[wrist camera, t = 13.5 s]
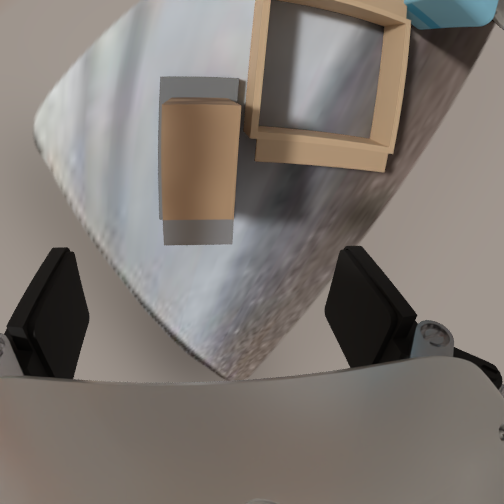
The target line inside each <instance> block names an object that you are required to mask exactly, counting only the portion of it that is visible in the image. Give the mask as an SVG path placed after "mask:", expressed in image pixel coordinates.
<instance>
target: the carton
mask: <svg viewBox="0 0 504 504" xmlns="http://www.w3.org/2000/svg"><path fill="white" fill-rule="evenodd" d="M278 1H284V2H290V3H295V4H301V5H306V6H311V7H315V8H320V9H324V10H329V11H333V12H337V13H341V14H344V15H348V16H352V17H355V18H359V19H362V20H365V21H368V22H372V23H375V24H378V25H381V26H384V35H383V46H382V56H381V65H380V73H379V81H378V89H377V96H376V103H375V110H374V116H373V122H372V129H371V135H370V139H368V138H362V137H355V136H349V135H342V134H334V133H327V132H319V131H310V130H301V129H291V128H280V127H267V126H258V125H259V115H260V105H261V94H262V84H263V73H264V63H265V53H266V43H267V33H268V23H269V13H270V3H271V0H255V9H254V19H253V29H252V39H251V49H250V60H249V71H248V82H247V93H246V104H245V116H244V127H243V131H244V132H245V134H246V135H247V136H248V137H249V138H251V139H256V150H255V160H254V161H255V162H275V163H292V164H306V165H318V166H330V167H340V168H350V169H359V170H368V171H376V172H385V167H386V162H387V157H388V153H389V154H393V152H394V147H395V141H396V136H397V131H398V125H399V119H400V113H401V106H402V100H403V93H404V86H405V78H406V70H407V61H408V52H409V41H410V29H411V20H409V19H406V14H407V6H406V5H405V4H404V0H278Z"/></svg>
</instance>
